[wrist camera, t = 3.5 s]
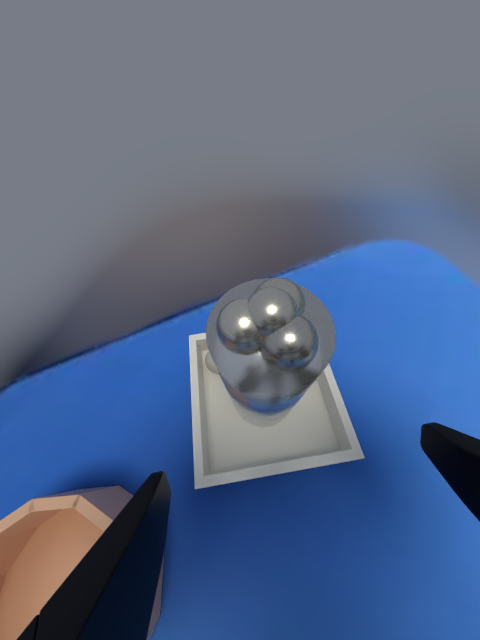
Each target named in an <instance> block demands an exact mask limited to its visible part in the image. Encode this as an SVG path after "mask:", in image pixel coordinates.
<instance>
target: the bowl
mask: <svg viewBox="0 0 480 640" xmlns="http://www.w3.org/2000/svg"><path fill="white" fill-rule="evenodd" d="M133 496H134V495H132V494H131V493H129V492H128V491H126V490H125V489H124V488H122V487H121V486H119V485H117V486H107V487H96V488H86V489H78V490H73V491H68V492H64V493H59V494H54V495H49V496H44V497H39V498H34V499H32V500H30V501H29V502H27V503H26V504H24V505H23V506H21V507H20V508H18V509H17V510H16V511H14V512H13V513H11V514H10V515H8V516H7V517H5V518H4V519H2V520H1V521H0V640H16V639H17V638H18V637H19V636H20V634H21V633H22V632H23V631H24V630H25V628H26V627H27V626H28V625H29V623H30V622H31V621H32V620H33V618H34V617H35V616H36V615H38V614H39V613H40V610H41V609H42V608H43V606H44V605H45V604H46V603H47V601H48V600H49V599H50V598H51V596H52V595H53V594H54V593H55V592H56V590H57V589H58V588H59V587H60V585H61V584H62V583H63V582H64V580H65V579H66V578H67V577H68V576H69V574H70V573H71V572H72V571H73V569H74V568H75V567H76V566H77V564H78V563H79V562H80V561H81V560H82V558H83V557H84V556H85V555H86V553H87V552H88V551H89V550H90V548H91V547H92V546H93V545H94V544H95V542H96V541H97V540H98V539H99V537H100V536H101V535H102V534H103V532H104V531H105V530H106V529H107V528H108V526H109V525H110V524H111V523H112V521H113V520H114V519H115V518H116V517H117V515H118V514H119V513H120V512H121V510H122V509H123V508H124V507H125V505H126V504H127V503H128V502H129V501H130V499H131V498H132V497H133ZM164 551H165V550H164ZM163 566H164V555H163V561H162V566H161V571H160V576H159V581H158V586H157V591H156V595H155V600H154V605H153V610H152V615H151V620H150V625H149V629H148V634H147V639H146V640H150V638H151V636H152V633H153V631H154V629H155V626H156V624H157V622H158V619H159V617H160V611H161V596H162V581H163Z"/></svg>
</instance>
